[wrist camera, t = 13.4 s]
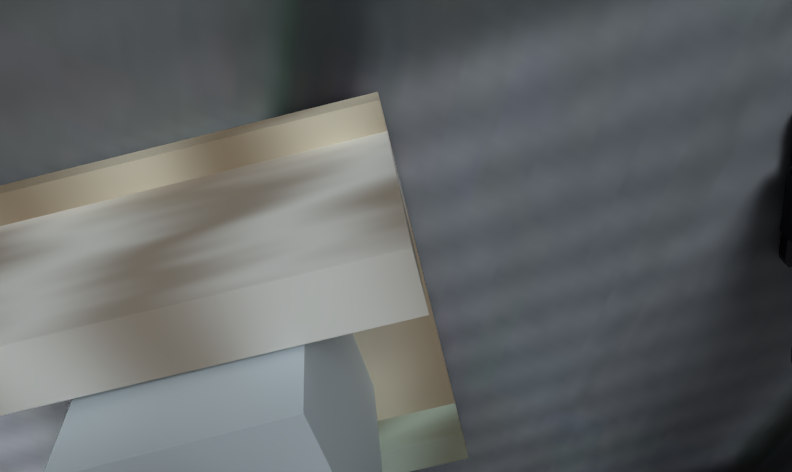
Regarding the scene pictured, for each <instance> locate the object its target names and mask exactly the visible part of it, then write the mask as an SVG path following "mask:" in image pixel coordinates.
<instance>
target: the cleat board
mask: <svg viewBox="0 0 792 472" xmlns="http://www.w3.org/2000/svg"><path fill="white" fill-rule="evenodd" d="M350 333H353V335H354V338H355V340H356V343H357V345H358V348H359V350H360V353H361V355H362V358H363V360H364V363H365V365H366V368H367V371H368V373H369V376H370V378H371V381H372V383H373V386H374V392H375V402H376V412H377V422H378V432H379V442H380V452H381V462H382V472H410V471H415V470H419V469H424V468H428V467H432V466H437V465H441V464H446V463H450V462H454V461H459V460H463V459H468V455H467V449H466V444H465V440H464V436H463V432H462V428H461V424H460V420H459V416H458V412H457V408H456V404H455V400H454V396H453V392H452V388H451V384H450V380H449V376H448V372H447V368H446V364H445V360H444V356H443V352H442V348H441V344H440V340H439V336H438V332H437V328H436V324H435V320H434V315H433V311H432V307H431V303H430V299H429V295H428V291H427V287H426V283H425V279H424V275H423V271H422V267H421V263H420V259H419V255H418V251H417V247H416V243H415V239H414V235H413V231H412V227H411V223H410V219H409V215H408V211H407V207H406V203H405V199H404V195H403V191H402V187H401V183H400V179H399V175H398V171H397V167H396V163H395V159H394V155H393V151H392V147H391V143H390V139H389V135H388V131H387V127H386V123H385V119H384V115H383V111H382V107H381V103H380V99H379V95H378V92H375V93H371V94H367V95H363V96H359V97H355V98H351V99H347V100H343V101H339V102H335V103H331V104H327V105H323V106H319V107H315V108H310V109H306V110H302V111H298V112H294V113H290V114H286V115H282V116H278V117H274V118H270V119H266V120H262V121H258V122H254V123H250V124H246V125H242V126H238V127H234V128H230V129H226V130H222V131H218V132H214V133H210V134H206V135H202V136H198V137H194V138H190V139H186V140H182V141H178V142H174V143H170V144H166V145H162V146H158V147H154V148H150V149H146V150H141V151H137V152H133V153H129V154H125V155H121V156H117V157H113V158H109V159H105V160H101V161H97V162H93V163H89V164H85V165H81V166H77V167H73V168H69V169H65V170H61V171H57V172H53V173H49V174H45V175H41V176H37V177H33V178H29V179H25V180H21V181H17V182H13V183H9V184H5V185H1V186H0V416H1V415H6V414H10V413H14V412H18V411H23V410H27V409H31V408H36V407H40V406H44V405H48V404H53V403H57V402H61V401H65V400H70V399H74V398H78V397H82V396H87V395H91V394H95V393H99V392H104V391H108V390H112V389H116V388H121V387H125V386H129V385H133V384H138V383H142V382H146V381H150V380H155V379H159V378H163V377H167V376H172V375H176V374H180V373H184V372H189V371H193V370H197V369H201V368H206V367H210V366H214V365H218V364H223V363H227V362H231V361H235V360H240V359H244V358H248V357H252V356H257V355H261V354H265V353H269V352H274V351H278V350H282V349H286V348H291V347H295V346H299V345H304V344H308V343H312V342H316V341H321V340H325V339H329V338H333V337H338V336H342V335H346V334H350Z"/></svg>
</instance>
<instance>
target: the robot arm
mask: <svg viewBox="0 0 792 472" xmlns="http://www.w3.org/2000/svg"><path fill="white" fill-rule="evenodd" d="M780 232H781V240H780V248H779V257H780V259H781V260H782V261H783V262H784V263H785V264H786V265H787V266H789V267H792V156H791V164H790V169H789V171H788V173H787V178H786V186H785V194H784V201H783V209H782V217H781V225H780ZM791 362H792V349H791Z"/></svg>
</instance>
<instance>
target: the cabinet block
mask: <svg viewBox="0 0 792 472" xmlns="http://www.w3.org/2000/svg"><path fill="white" fill-rule="evenodd" d="M44 472H382V462H381V452H380V442H379V432H378V422H377V412H376V402H375V392H374V386H373V383H372V381H371V378H370V376H369V373H368V371H367V368H366V365H365V363H364V360H363V358H362V355H361V353H360V350H359V348H358V345H357V343H356V340H355V338H354V335H353V333H350V334H346V335H342V336H338V337H333V338H329V339H325V340H321V341H316V342H312V343H308V344H304V345H299V346H295V347H291V348H286V349H282V350H278V351H274V352H269V353H265V354H261V355H257V356H252V357H248V358H244V359H240V360H235V361H231V362H227V363H223V364H218V365H214V366H210V367H206V368H201V369H197V370H193V371H189V372H184V373H180V374H176V375H172V376H167V377H163V378H159V379H155V380H150V381H146V382H142V383H138V384H133V385H129V386H125V387H121V388H116V389H112V390H108V391H104V392H99V393H95V394H91V395H87V396H82V397H78V398H74V399H72V402H71V404H70V407H69V409H68V412H67V414H66V417H65V420H64V422H63V425H62V427H61V430H60V432H59V435H58V438H57V440H56V443H55V445H54V448H53V450H52V453H51V455H50V458H49V461H48V463H47V466H46V468H45V471H44Z"/></svg>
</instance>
